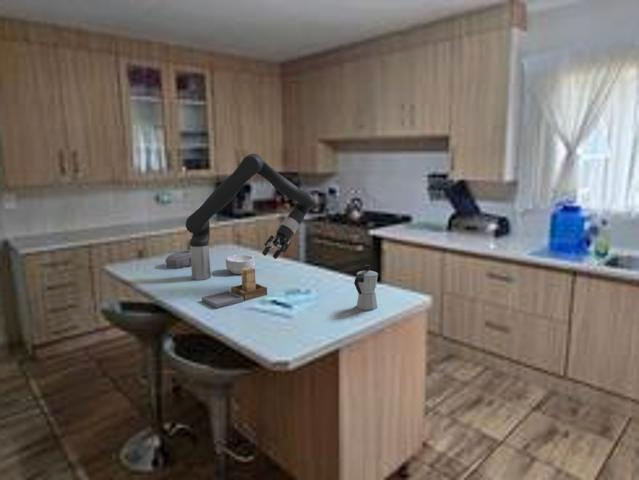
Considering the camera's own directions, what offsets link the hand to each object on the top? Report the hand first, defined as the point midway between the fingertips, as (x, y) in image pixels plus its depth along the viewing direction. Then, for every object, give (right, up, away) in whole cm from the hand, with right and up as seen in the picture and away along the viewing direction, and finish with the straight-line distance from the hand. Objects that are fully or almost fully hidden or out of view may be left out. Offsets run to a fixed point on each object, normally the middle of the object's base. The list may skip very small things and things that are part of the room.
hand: (268, 256), depth 209 cm
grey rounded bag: (-54, -7, +50) cm, 74 cm away
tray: (-19, -19, -13) cm, 30 cm away
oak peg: (-8, -17, -4) cm, 20 cm away
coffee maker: (+42, -21, -22) cm, 52 cm away
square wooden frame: (-8, -17, -4) cm, 20 cm away
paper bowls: (-19, -10, +34) cm, 41 cm away
